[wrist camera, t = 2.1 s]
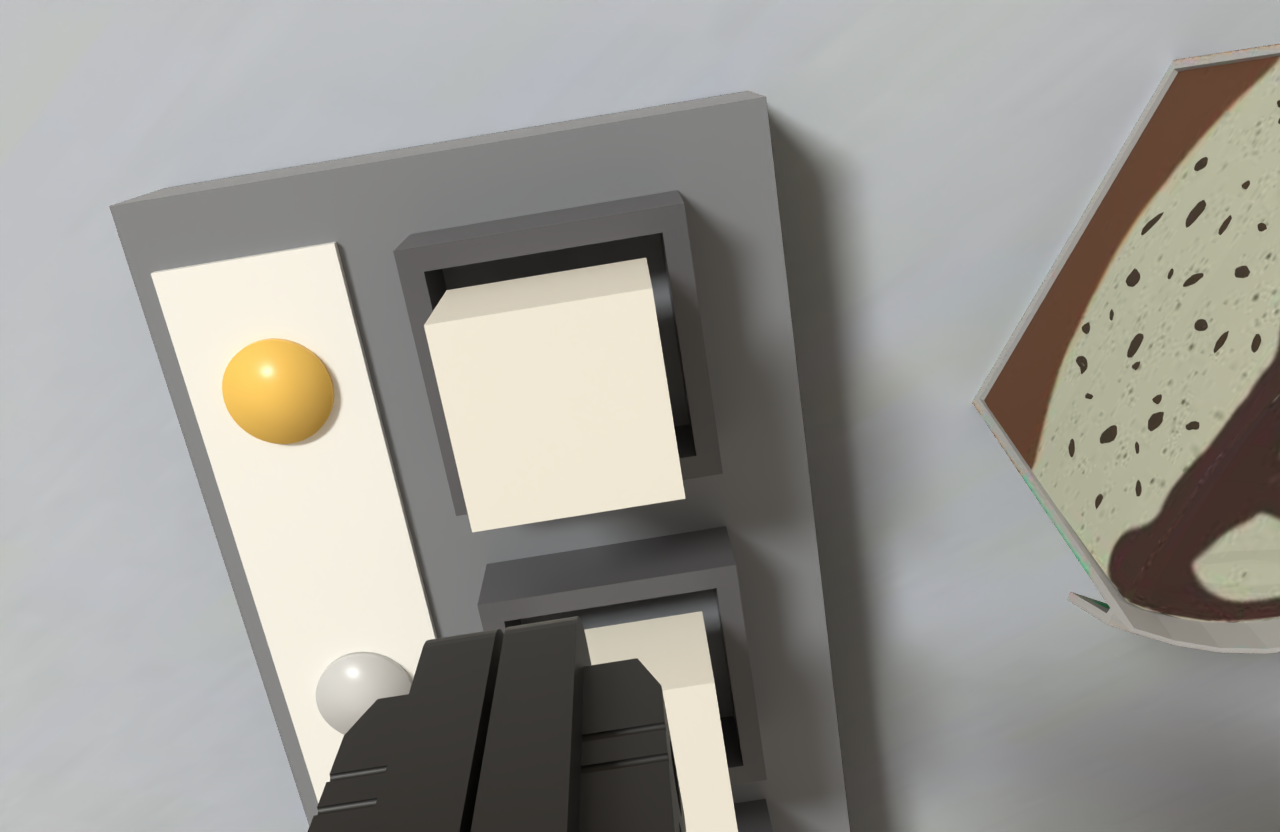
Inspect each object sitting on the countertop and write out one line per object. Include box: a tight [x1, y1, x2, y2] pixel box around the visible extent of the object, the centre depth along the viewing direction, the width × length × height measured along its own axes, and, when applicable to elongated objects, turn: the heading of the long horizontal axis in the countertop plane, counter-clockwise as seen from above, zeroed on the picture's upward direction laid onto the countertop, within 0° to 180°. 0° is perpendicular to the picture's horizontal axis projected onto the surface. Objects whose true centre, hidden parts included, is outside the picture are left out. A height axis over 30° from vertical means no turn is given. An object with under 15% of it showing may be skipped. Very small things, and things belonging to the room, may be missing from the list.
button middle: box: [584, 611, 738, 832], centre depth 23 cm, size 4×4×3 cm
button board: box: [109, 91, 850, 832], centre depth 27 cm, size 14×25×5 cm, turn 9°
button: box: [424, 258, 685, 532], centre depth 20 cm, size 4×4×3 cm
